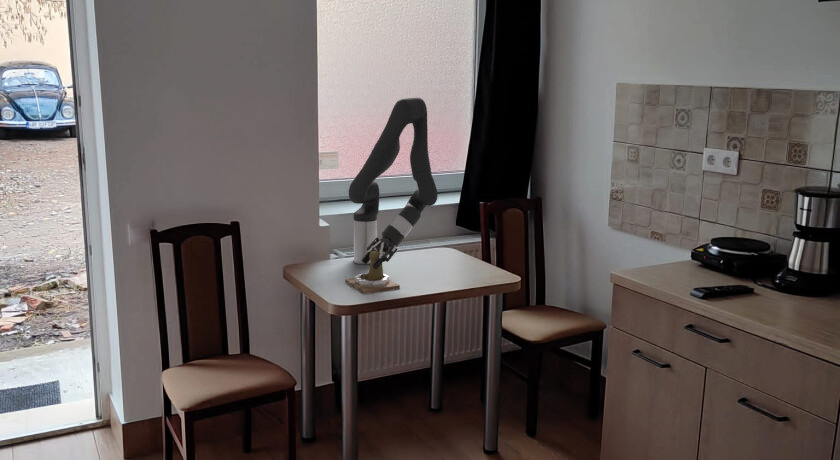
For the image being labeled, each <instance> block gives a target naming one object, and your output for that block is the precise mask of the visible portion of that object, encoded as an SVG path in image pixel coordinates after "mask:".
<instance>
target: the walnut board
mask: <svg viewBox="0 0 840 460" xmlns="http://www.w3.org/2000/svg"><path fill="white" fill-rule="evenodd" d="M344 280H345V281H344V282H345V283H346V284H347V285H349V286H350V287H353V288H354V289H355V290H357V291H359V292H360V293H361V294H364V295H365V294H372V293H378V292H384V291H385V292H386V291H390V290H391V291H393V290H398V289H400V288H401V286H400V284H399V283H396V282H395V281H393V280H392V279H389V282H388V283H387V284H386V285H384V286H377V287H367V286H360V285H358V284H356V283H355V277H351V278H345V279H344ZM364 280H367V279H364Z"/></svg>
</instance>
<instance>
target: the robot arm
mask: <svg viewBox="0 0 840 460" xmlns="http://www.w3.org/2000/svg"><path fill="white" fill-rule="evenodd" d="M409 124H412V126H413V127H412V128H413V142H412V145H411V149H410V155H409V162H410V163H409V164H410V169H411V174H412V179H413V180H414V181H415V182H416V186H417V189H416V190H414V192H413V193H412V194H411V195H410V198H409V199H408V201H407V203H406V204H405V206H404V207H403V208H402V209H401V210H400V211H399V213H398V214H397V215H396V216H395V217H394V218H393V219H392V220H391V221H390V223H389V224H388V225H387V226H386V228H385V229H384V230H383V231H382V232H381V236H382V237H381V238H379V237H378V215H379V211H380V209H379V208H380V207H379V206H380V188H379V184H378V182H377V181H376V179H377V178H378V177H380V176H381V175H383V174H384V173H385V172H386V171H388V169H389V168H391V167H392V166H393V163H394V162H395V161H396V159H397V157H398V155H399V153H400V150H401V142H400V138H401V137H400V136H401V135H402V133H403V131H404V129H405V128H406V127H407V126H408V125H409ZM428 130H429V129H428V108H427V105H426V101H425V100H424V99H423V98H421V97H419V96H413V97H403V98H400V99H398V100H397V101H396V103H395V104H394V106H393V107H392V110H391V111H390V115H389V116H388V119H387V122H386V124H385V127H384V129H383V130H382V131H381V134H380V136H379V138H378V140H377V141H376V142H375V145H374V147H373V148H372V150H371V152H370V153H369V155H368V158H367V159H366V161H365V163H364V165H363V166H362V167H361V169H360V171H359V172H358V173H357V175H356V176H355V177H354V179H353V180H352V181H351V183H350V185H349V188H348V197H349V200H350V201H351V202H352V203H354V204H357V205H359V204H362V205H361V206H360V207H359V208H358V209H357V210H355V212H354V213H353V262H354V263H355V264H359V265H370V262H371V260H370V258H369V255H370V253H371V252H373V251H379V252H380V256H379V258H378V259H377V260H376V261H375V262H374V263H373V265H372V267H373V268H374V269H376V270H377V269H378V267H379V266H380V265H381V264H382V265H383V263H385V262H387V263H388V262H389V261H390V260H391V259H392V258H393V256H394V255H395V254H396V252H397V251H398V248H397V247H399V246H400V245H401V243H402V242H403V241H404V240H405V238H406V237H407V236H408V234H410V232H411V231H412V229H413V228H414V226H415V225H416V224H417V223H418V222H419V220H420V218H421V216H422V215H421V214H422V213H423V211H424V210H425V208H426V207H432V206H434V205H435V204H436V203H437V201H438V198H439V197H438V189H437V186H436V183H435V180H434V177H433V174H432V169H431V162H430V156H429V145H428V144H429V142H428V135H429V134H428V132H429V131H428Z"/></svg>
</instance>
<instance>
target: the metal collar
mask: <svg viewBox="0 0 840 460" xmlns="http://www.w3.org/2000/svg"><path fill="white" fill-rule="evenodd" d="M368 273H369V272H364V273H358V274H357V275H356V276H355V277H354V278H355V283H356V284H358V285H360V286H367V287H377V286H384V285H386V284H387V283H388V282H389V280H390V275H387V274H386V273H384V272H383V279H381V280H374V281H372V280H364V279H367V278H368Z"/></svg>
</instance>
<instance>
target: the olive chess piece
mask: <svg viewBox="0 0 840 460" xmlns="http://www.w3.org/2000/svg"><path fill="white" fill-rule="evenodd" d="M379 256H380V252H379V251H373V252H371V253H370V255H369V258H370V260H371V262H370V264H369V268H368V272H367V273H368V278H367V280H372V281H374V280H381V279H383V273H384V269H383V268H384V267H383V263H382V264H381V265H380V266H379V267H378V269H377V270H376V269H374V268H373V267H372V265H373V263H374V262H375V261H376V260H377V259H378V258H379Z"/></svg>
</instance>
